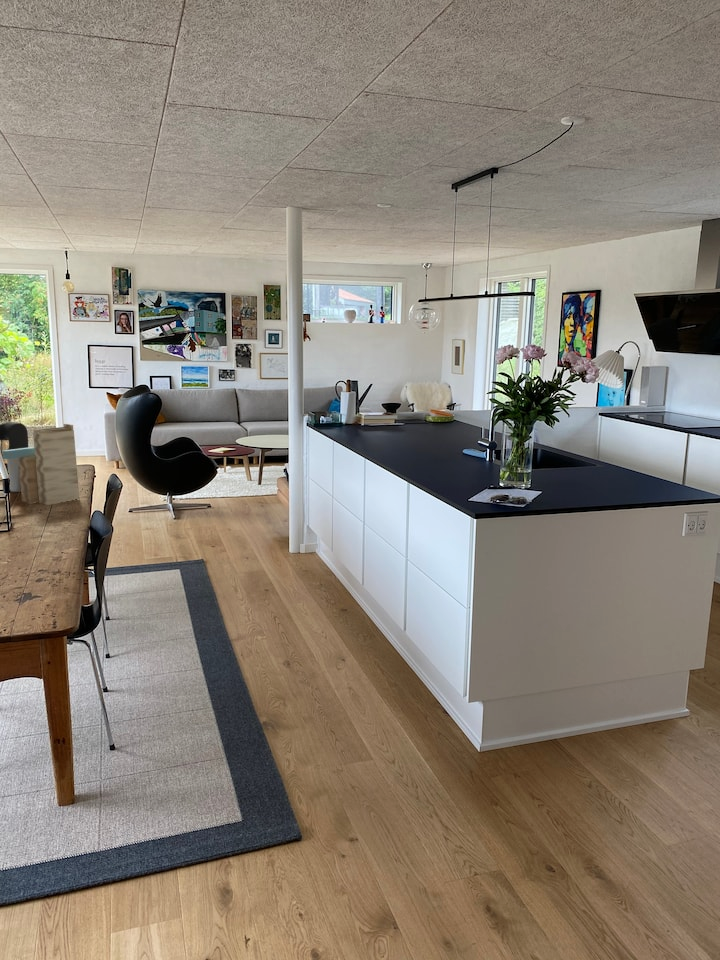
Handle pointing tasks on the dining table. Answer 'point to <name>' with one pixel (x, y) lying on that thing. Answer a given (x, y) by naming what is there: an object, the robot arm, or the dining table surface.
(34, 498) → the oak step
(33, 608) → the dining table surface
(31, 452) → the teal block
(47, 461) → the birch stand
